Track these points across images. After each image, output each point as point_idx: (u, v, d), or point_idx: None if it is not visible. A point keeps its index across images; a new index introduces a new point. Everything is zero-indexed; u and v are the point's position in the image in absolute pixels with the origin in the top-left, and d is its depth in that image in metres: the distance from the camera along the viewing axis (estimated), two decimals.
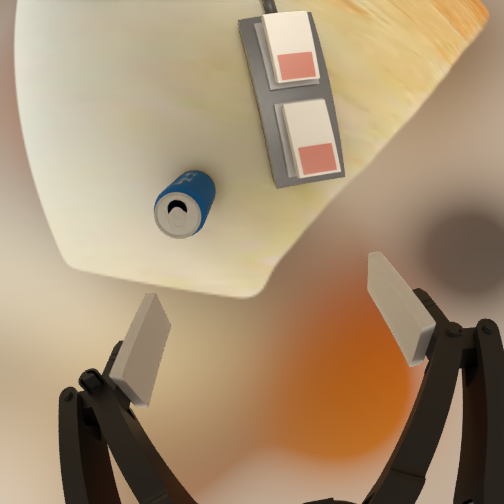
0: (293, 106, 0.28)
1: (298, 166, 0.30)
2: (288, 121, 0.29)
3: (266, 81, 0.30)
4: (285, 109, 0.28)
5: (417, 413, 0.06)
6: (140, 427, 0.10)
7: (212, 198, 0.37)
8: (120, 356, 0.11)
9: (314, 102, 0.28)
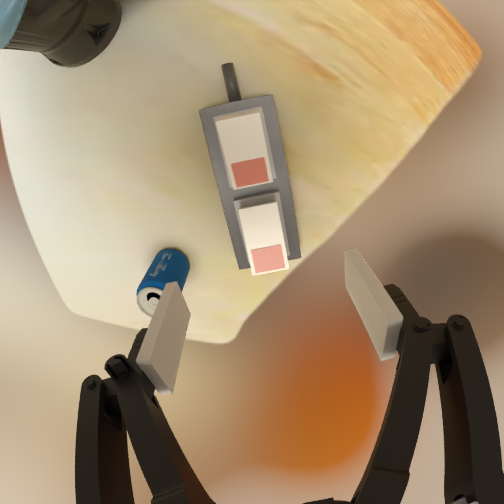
0: (247, 211, 0.35)
1: (251, 265, 0.37)
2: (242, 226, 0.35)
3: (227, 176, 0.37)
4: (240, 214, 0.35)
5: (392, 410, 0.07)
6: (163, 416, 0.10)
7: (185, 277, 0.44)
8: (146, 342, 0.12)
9: (267, 206, 0.35)
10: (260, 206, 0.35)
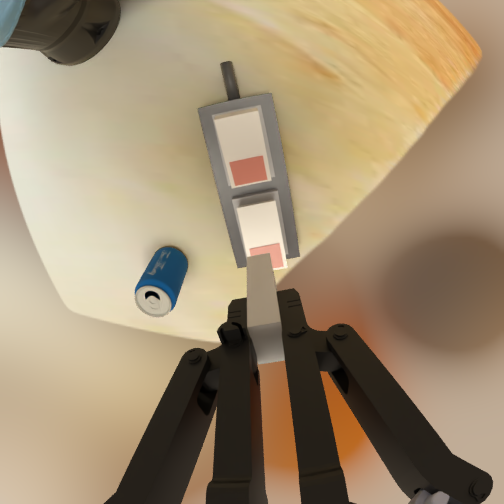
0: (245, 210, 0.35)
1: None
2: (241, 224, 0.35)
3: (225, 174, 0.37)
4: (238, 213, 0.35)
5: (295, 418, 0.08)
6: (259, 395, 0.11)
7: (183, 276, 0.44)
8: (251, 308, 0.13)
9: (265, 204, 0.35)
10: (258, 204, 0.35)
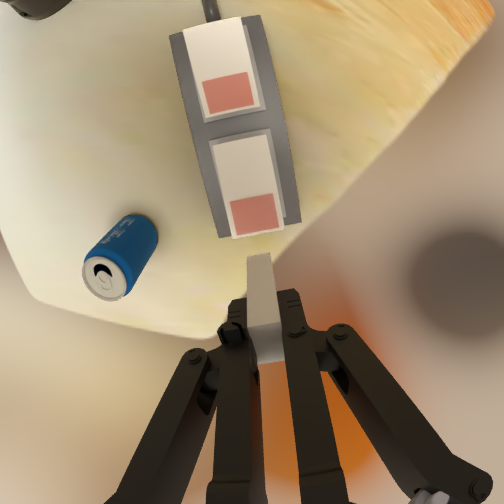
0: (224, 147, 0.24)
1: (230, 224, 0.26)
2: (218, 167, 0.24)
3: (201, 111, 0.26)
4: (214, 152, 0.24)
5: (295, 418, 0.08)
6: (259, 395, 0.11)
7: (149, 249, 0.33)
8: (251, 308, 0.13)
9: (252, 139, 0.23)
10: (243, 140, 0.24)
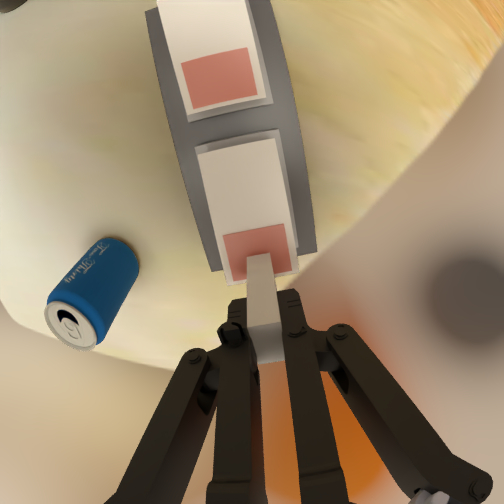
0: (214, 157, 0.17)
1: (224, 266, 0.18)
2: (205, 186, 0.17)
3: None
4: (201, 163, 0.17)
5: (295, 418, 0.08)
6: (259, 395, 0.11)
7: (126, 283, 0.26)
8: (251, 308, 0.13)
9: (255, 145, 0.16)
10: (241, 146, 0.16)
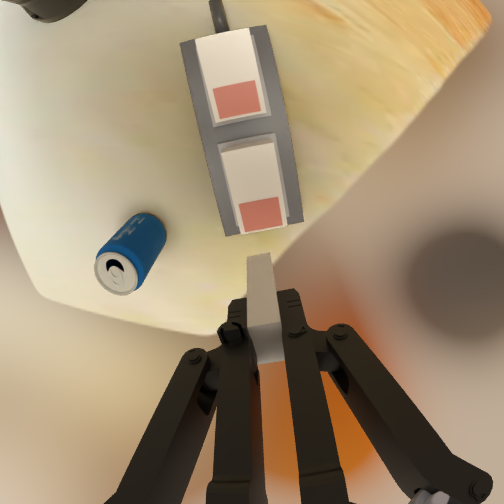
0: (233, 155, 0.25)
1: (239, 223, 0.29)
2: (227, 174, 0.26)
3: (210, 115, 0.28)
4: (223, 159, 0.25)
5: (295, 418, 0.08)
6: (259, 395, 0.11)
7: (158, 246, 0.35)
8: (251, 308, 0.13)
9: (260, 147, 0.24)
10: (251, 148, 0.24)
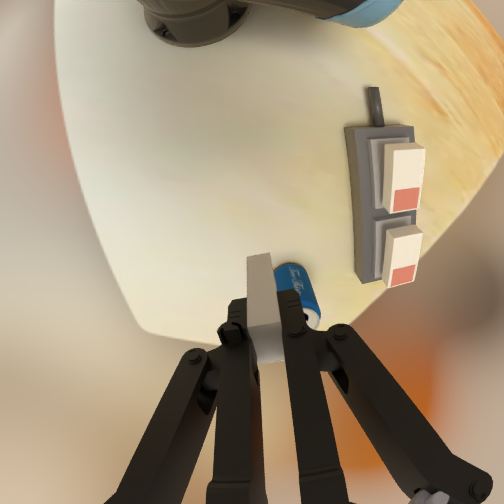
0: (400, 240, 0.33)
1: (389, 281, 0.37)
2: (393, 251, 0.34)
3: (370, 197, 0.37)
4: (394, 242, 0.34)
5: (295, 418, 0.08)
6: (259, 395, 0.11)
7: None
8: (251, 308, 0.13)
9: (415, 235, 0.33)
10: (410, 235, 0.33)
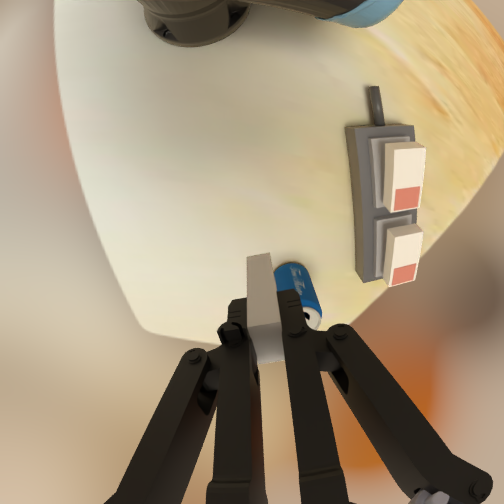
0: (401, 239, 0.33)
1: (390, 280, 0.37)
2: (394, 250, 0.34)
3: (371, 196, 0.37)
4: (395, 241, 0.34)
5: (295, 418, 0.08)
6: (259, 395, 0.11)
7: None
8: (251, 308, 0.13)
9: (416, 234, 0.33)
10: (411, 234, 0.33)
